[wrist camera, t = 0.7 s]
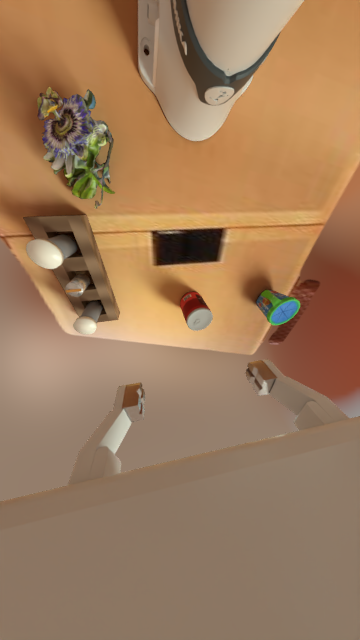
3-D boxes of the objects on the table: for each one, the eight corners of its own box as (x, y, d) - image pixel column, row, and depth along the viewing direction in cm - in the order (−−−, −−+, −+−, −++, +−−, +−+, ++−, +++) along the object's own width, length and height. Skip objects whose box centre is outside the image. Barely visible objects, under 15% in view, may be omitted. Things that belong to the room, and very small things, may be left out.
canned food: (177, 309, 51) (183, 329, 43) (183, 289, 47) (192, 307, 38) (196, 312, 54) (206, 331, 45) (204, 292, 49) (217, 310, 41)
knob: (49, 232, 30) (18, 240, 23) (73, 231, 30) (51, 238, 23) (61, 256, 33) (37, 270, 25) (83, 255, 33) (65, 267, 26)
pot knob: (73, 274, 35) (61, 284, 30) (87, 272, 36) (78, 283, 31) (79, 286, 37) (69, 298, 32) (92, 285, 38) (84, 296, 33)
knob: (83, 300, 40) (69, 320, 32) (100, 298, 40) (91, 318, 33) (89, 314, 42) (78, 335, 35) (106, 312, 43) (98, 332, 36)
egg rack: (35, 216, 30) (22, 217, 27) (86, 214, 31) (80, 215, 28) (87, 316, 46) (83, 324, 43) (119, 312, 48) (118, 319, 44)
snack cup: (282, 301, 59) (304, 316, 51) (259, 317, 62) (275, 333, 54) (272, 274, 50) (296, 287, 42) (245, 294, 53) (263, 309, 45)
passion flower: (83, 142, 29) (70, 44, 18) (128, 194, 33) (139, 139, 23) (38, 173, 26) (-7, 79, 16) (93, 225, 31) (88, 179, 20)
